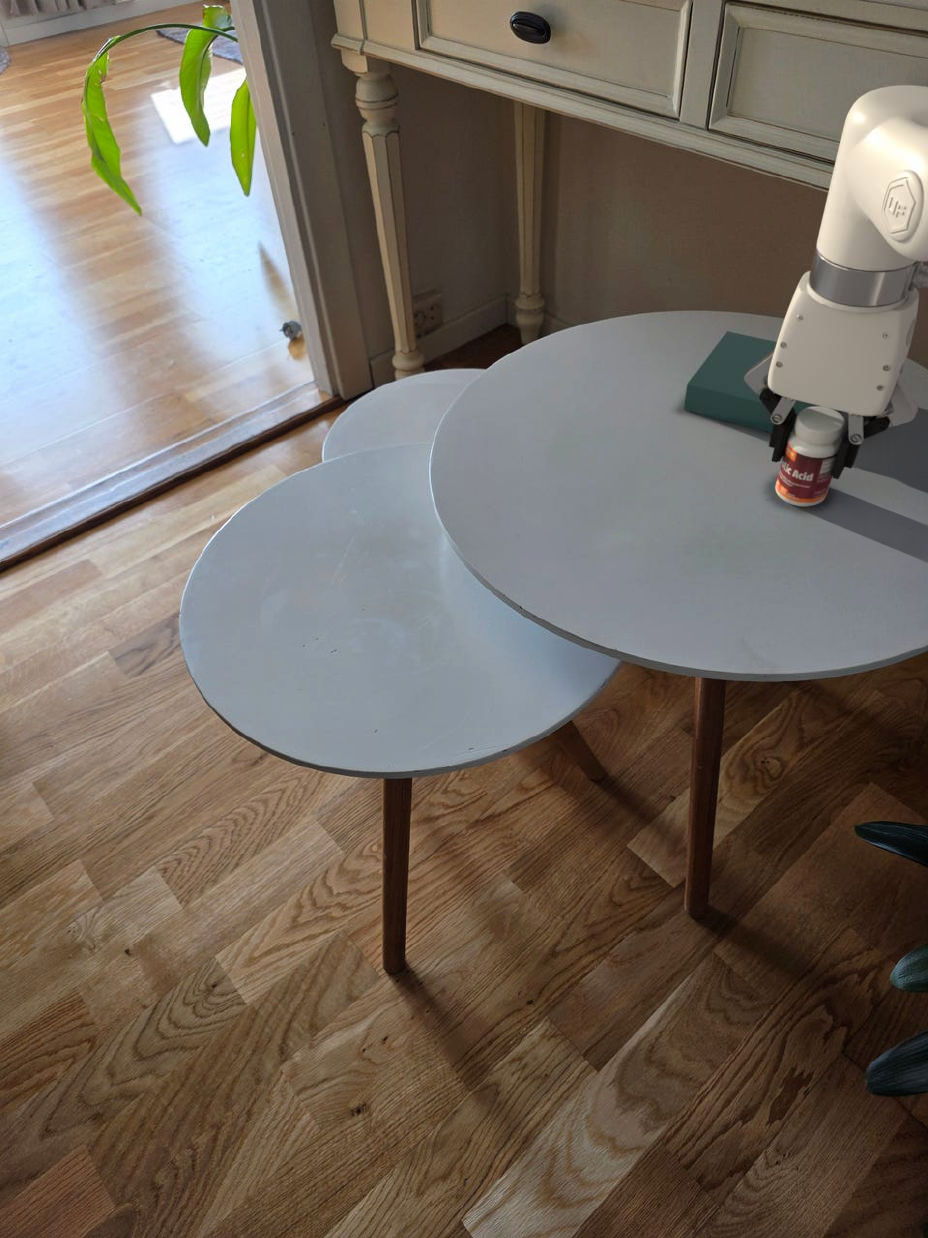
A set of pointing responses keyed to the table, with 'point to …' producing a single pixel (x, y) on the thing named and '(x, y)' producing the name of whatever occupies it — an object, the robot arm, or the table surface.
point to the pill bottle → (810, 456)
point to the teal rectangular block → (734, 384)
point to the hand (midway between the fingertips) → (809, 460)
